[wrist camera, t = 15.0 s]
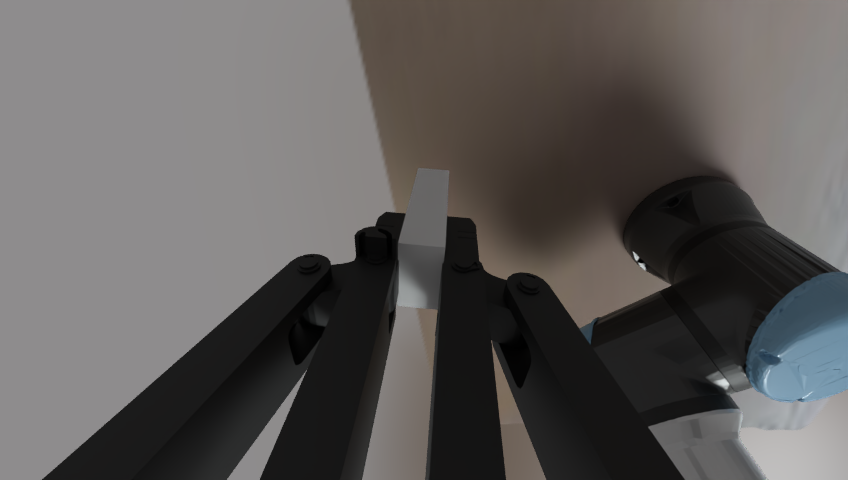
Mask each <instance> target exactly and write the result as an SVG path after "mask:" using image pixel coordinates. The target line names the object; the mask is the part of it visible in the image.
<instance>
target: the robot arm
mask: <svg viewBox="0 0 848 480" xmlns="http://www.w3.org/2000/svg"><path fill="white" fill-rule="evenodd" d="M448 186H449V170H438V169H426V168H418V171H417V175H416V178H415V182H414V186H413V190H412V193H411V197H410V201H409V204H408V208H407V212H406V214H404V213H393V212H385V213H384V214H383V215H381V216H380V217H379V218H378V220H377V223H376V226H375V227H374V226H373V227H368V228H363V229H362V230H360V231H358V232H357V233H356V234H355V247H356V258H355V260H354V261H352V262H349V263H344V264H336V265H331V263H330V261H329V259H328V258H327V257H325V256H322V255H318V254H308V255H303V256H300V257H297V258H296V259H294V260H293V261H291V262H290V263H289V264H288V265H286V266H285V267H284V268H283V269H282V270H281V271H280V272H279V273H277V274H276V275H275V276H274V277H273V278H272V279H270V280H269V281H268V282H267V283H266V284H265V285H264V286H262V287H261V288H260V289H259V290H258V291H257V292H256V293H254V295H252V296H251V297H250V298H249V299H248V300H246V301H245V302H244V303H243V304H242V305H241V306H240V307H239V308H238V309H236V310H235V311H234V312H233V313H232V314H231V315H229V316H228V317H227V318H226V319H225V320H224V321H223V322H221V323H220V324H219V325H218V326H217V327H216V328H215V329H213V330H212V331H211V332H210V333H209V334H208V335H207V336H205V337H204V338H203V339H202V340H201V341H200V342H199V343H197V344H196V345H195V346H194V347H193V348H192V349H191V350H189V352H187V353H186V354H185V355H184V356H183V357H181V358H180V359H179V360H178V361H177V362H176V363H175V364H173V365H172V366H171V367H170V368H169V369H168V370H167V371H165V372H164V373H163V374H162V375H161V376H160V377H159V378H157V379H156V380H155V381H154V382H153V383H152V384H151V385H149V386H148V387H147V388H146V389H145V390H144V391H143V392H141V393H140V394H139V395H138V396H137V397H136V398H135V399H133V401H131V402H130V403H129V404H128V405H127V406H126V407H124V408H123V409H122V410H121V411H120V412H119V413H118V414H116V415H115V416H114V417H113V418H112V419H111V420H110V421H108V422H107V423H106V424H105V425H104V426H103V427H102V428H101V429H99V430H98V431H97V432H96V433H95V434H94V435H92V436H91V437H90V438H89V439H88V440H87V441H86V442H85V443H83V444H82V445H81V446H80V447H79V448H78V449H77V450H75V451H74V452H73V453H72V454H71V455H70V456H68V457H67V458H66V459H65V460H64V461H63V462H62V463H61V464H59V465H58V466H57V467H56V468H55V469H54V470H53V471H51V472H50V473H49V474H48V475H47V476H46V477H44V479H42V480H227V478H228V477H229V476H230V474H231V473H232V472H233V470H234V469H235V467H236V466H237V465H238V463H239V462H240V460H241V459H242V458H243V456H244V455H245V454H246V452H247V451H248V450H249V448H250V447H251V445H252V444H253V443H254V441H255V440H256V439H257V437H258V436H259V434H260V433H261V432H262V430H263V429H264V428H265V426H266V425H267V423H268V422H269V421H270V419H271V418H272V417H273V415H274V414H275V413H276V411H277V410H278V408H279V407H280V406H281V404H282V403H283V402H284V400H285V399H286V397H287V396H288V395H289V393H290V392H291V390H292V389H293V388H294V386H295V385H296V384H297V382H298V381H299V380H300V378H301V377H302V375H303V374H304V373H305V371H306V370H307V372H306V374H305V376H304V378H303V381H302V383H301V385H300V388H299V390H298V392H297V395H296V397H295V399H294V401H293V404H292V407H291V408H290V411H289V413H288V415H287V418H286V420H285V422H284V425H283V427H282V429H281V432H280V434H279V436H278V439H277V441H276V443H275V445H274V448H273V450H272V452H271V455H270V457H269V459H268V462H267V464H266V466H265V469H264V471H263V473H262V476H261V478H260V480H362V477H363V472H364V466H365V462H366V457H367V452H368V448H369V442H370V438H371V433H372V428H373V423H374V418H375V414H376V409H377V404H378V399H379V394H380V389H381V385H382V380H383V375H384V370H385V365H386V360H387V356H388V351H389V346H390V341H391V336H392V331H393V327H394V322H395V316H396V310H395V309H396V302H397V305H398V306H407V307H416V308H426V309H436V310H438V313H437V323H436V332H435V336H436V338H435V352H434V366H433V380H432V394H431V408H430V421H429V436H428V450H427V464H426V477H425V480H506V476H505V466H504V457H503V447H502V439H501V428H500V419H499V410H498V400H497V391H496V381H495V372H494V362H493V353H492V344H491V340H492V343H493V347H494V349H495V352H496V354H497V357H498V359H499V362H500V364H501V367H502V369H503V372H504V374H505V377H506V379H507V382H508V384H509V387H510V389H511V392H512V394H513V397H514V399H515V402H516V404H517V407H518V409H519V412H520V414H521V417H522V419H523V422H524V424H525V427H526V429H527V432H528V434H529V437H530V439H531V442H532V444H533V447H534V449H535V452H536V454H537V457H538V460H539V462H540V465H541V467H542V469H543V472H544V475H545V477H546V480H768V479H767V478H766V476H765V475H764V473H763V472H762V470H761V469H760V468H759V466H758V465H757V463H756V462H755V460H754V459H753V458H752V456H751V455H750V453H749V452H748V450H747V449H746V447H745V446H744V445H743V443H742V441H741V439H740V436H739V433H740V429H741V424H742V419H743V413H742V411H741V410H740V409H739V407H738V406H737V405H736V403H735V402H734V401H733V399H732V398H731V397H730V394H732V393H735V392H739V391H742V390H746V389H749V388H752V387H754V389H755V390H756V391H758V392H760V393H762V394H764V395H765V396H767V397H769V398H771V399H773V400H777V401H781V402H794V401H796V400H798V401H801V402H808V401H814V400H819V399H822V398H826V397H830V396H832V395H835V394H838V393H840V392H843V391H845V390H847V389H848V274H847V273H845V272H841V271H840V270H838V269H837V268H835V267H833V266H832V265H830V264H829V263H827V262H825V261H824V260H822V259H821V258H819V257H817V256H816V255H814V254H813V253H811V252H809V251H808V250H806V249H805V248H803V247H802V246H800V245H798V244H797V243H795V242H794V241H792V240H790V239H789V238H787V237H786V236H784V235H782V234H781V233H779V232H777V231H776V230H774V229H773V228H771V227H770V226H768V225H767V223H766V222H765V220H764V218H763V217H762V215H761V214H760V212H759V211H758V209H757V208H756V206H755V205H754V202H753V200H752V199H751V197H750V196H749V195H748V194H747V193H746V192H745V191H743V190H742V189H740V188H739V187H737V186H735V185H734V184H732V183H730V182H728V181H726V180H724V179H720V178H716V177H708V176H700V177H691V178H686V179H682V180H679V181H676V182H673V183H671V184H668V185H666V186H664V187H662V188H660V189H659V190H657V191H655V192H654V193H652V194H651V195H650V196H648V197H647V198H646V199H645V200H644V201H642V202H641V203H640V204H639V206H638V207H637V208H636V209H635V210H634V212H633V213H632V214H631V216H630V218H629V220H628V222H627V224H626V227H625V231H624V244H625V247H626V250H627V252H628V253H629V255H630V256H631V257H632V259H633V260H634V261H635V262H636V263H637V264H638V265H639V266H640V267H641V268H642V269H644V270H645V271H647V272H649V273H651V274H653V275H654V276H656V277H658V278H660V279H662V280H663V281H665V282H667V283H669V284H671V286H670V287H668V288H665V289H663V290H661V291H658V292H656V293H654V294H652V295H650V296H647V297H645V298H643V299H641V300H639V301H637V302H634V303H632V304H630V305H628V306H625V307H623V308H621V309H619V310H616V311H614V312H612V313H610V314H607V315H605V316H603V317H597V318H595V319H594V320H593V321H592V322H591V323H589V324H587V325H585V326H583V327H582V328H580V329H579V328H578V326H577V325H576V323H575V322H574V320H573V319H572V318H571V316H570V315H569V313H568V312H567V310H566V309H565V308H564V306H563V305H562V303H561V302H560V300H559V299H558V298H557V296H556V295H555V293H554V292H553V290H552V289H551V288H550V286H549V285H548V284H547V283H546V282H545V281H544V280H543V279H541V278H540V277H538V276H536V275H533V274H529V273H515V274H512V275H511V276H509V277H508V279H507V280H504V279H501V278H498V277H495V276H493V275H491V274H489V273H487V272H486V271H485V270H484V268H483V266H482V263H481V262H480V261H479V254H478V244H477V234H476V225H475V224H474V223H473V221H472V220H471V219H470V218H460V217H448V216H447V206H448ZM734 391H735V392H734Z"/></svg>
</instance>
